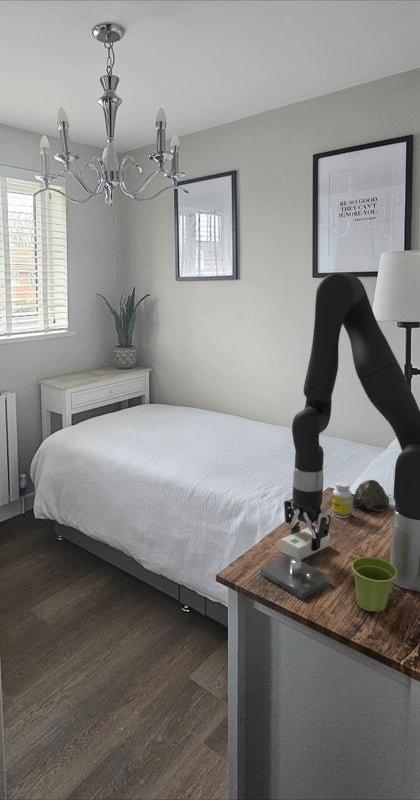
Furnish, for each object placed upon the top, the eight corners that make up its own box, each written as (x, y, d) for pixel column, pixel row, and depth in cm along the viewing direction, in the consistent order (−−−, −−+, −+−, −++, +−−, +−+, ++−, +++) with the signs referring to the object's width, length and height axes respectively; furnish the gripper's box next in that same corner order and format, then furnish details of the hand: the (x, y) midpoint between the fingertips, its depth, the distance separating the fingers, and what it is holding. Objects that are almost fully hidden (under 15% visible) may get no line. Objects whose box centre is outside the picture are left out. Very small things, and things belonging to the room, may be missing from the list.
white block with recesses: (311, 537, 142) (311, 525, 142) (328, 546, 138) (329, 533, 137) (280, 551, 135) (281, 539, 134) (298, 560, 131) (298, 548, 130)
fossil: (381, 516, 154) (368, 484, 154) (354, 522, 160) (341, 492, 160) (394, 503, 162) (380, 473, 163) (367, 509, 168) (355, 480, 169)
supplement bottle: (328, 511, 158) (330, 481, 156) (344, 509, 160) (346, 479, 158) (337, 519, 153) (339, 488, 151) (353, 517, 155) (356, 486, 152)
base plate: (331, 583, 121) (332, 565, 120) (301, 599, 115) (302, 581, 114) (289, 560, 131) (290, 544, 130) (260, 574, 125) (261, 557, 124)
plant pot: (402, 604, 113) (405, 568, 111) (380, 624, 107) (383, 586, 105) (363, 586, 120) (365, 552, 118) (340, 604, 113) (342, 568, 111)
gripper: (340, 489, 129) (336, 551, 133) (296, 473, 140) (294, 530, 144) (320, 497, 125) (317, 561, 129) (277, 479, 136) (275, 538, 139)
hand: (305, 544), depth 136 cm, fingers closed on white block with recesses, 6 cm apart
